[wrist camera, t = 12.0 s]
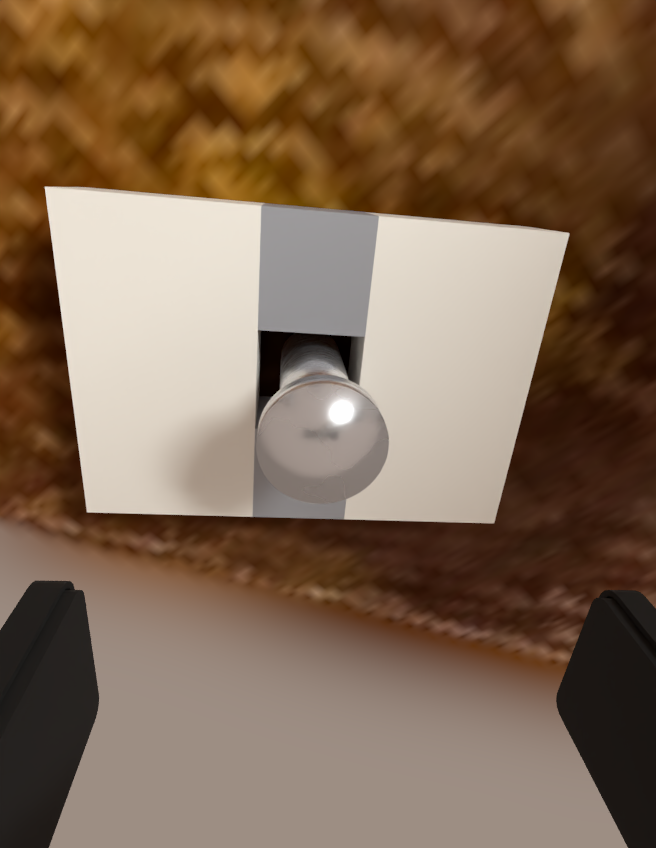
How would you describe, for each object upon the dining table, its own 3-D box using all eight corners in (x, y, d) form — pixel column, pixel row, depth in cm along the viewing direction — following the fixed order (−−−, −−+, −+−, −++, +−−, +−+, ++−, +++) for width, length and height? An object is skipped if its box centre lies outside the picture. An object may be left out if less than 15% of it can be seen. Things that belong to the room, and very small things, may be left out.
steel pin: (268, 311, 25) (258, 381, 16) (357, 317, 25) (397, 389, 16) (265, 395, 27) (254, 502, 18) (348, 400, 27) (380, 505, 18)
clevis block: (113, 470, 28) (86, 512, 24) (84, 187, 22) (44, 186, 18) (468, 482, 30) (494, 523, 26) (526, 226, 24) (569, 233, 21)
